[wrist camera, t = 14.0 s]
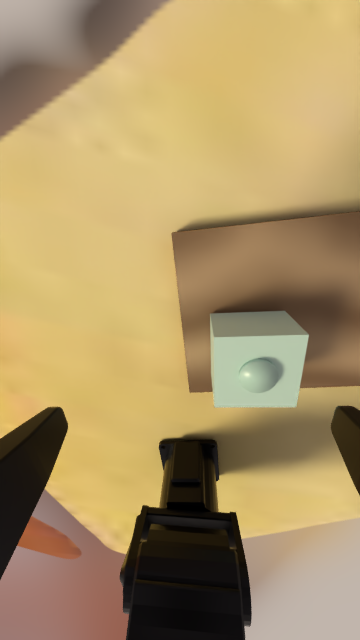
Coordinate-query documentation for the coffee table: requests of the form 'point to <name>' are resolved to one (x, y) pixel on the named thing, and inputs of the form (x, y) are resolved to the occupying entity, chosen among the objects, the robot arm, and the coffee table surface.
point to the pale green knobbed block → (256, 359)
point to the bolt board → (275, 289)
